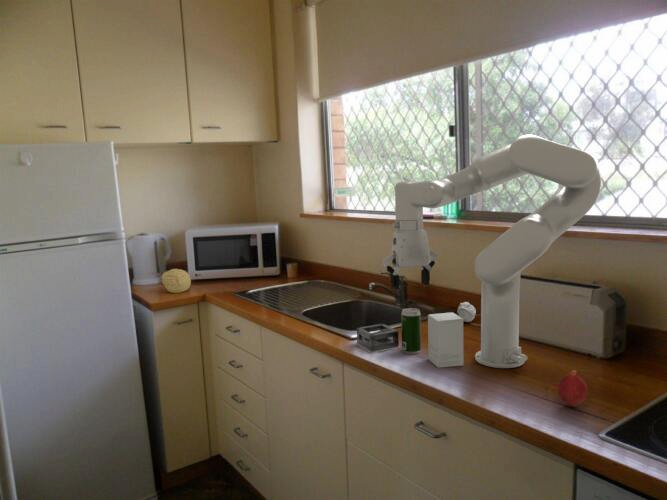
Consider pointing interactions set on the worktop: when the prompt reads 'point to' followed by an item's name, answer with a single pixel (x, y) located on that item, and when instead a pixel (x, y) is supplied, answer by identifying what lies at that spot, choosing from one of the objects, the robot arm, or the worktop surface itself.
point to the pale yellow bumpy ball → (176, 280)
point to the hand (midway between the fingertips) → (410, 286)
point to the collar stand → (377, 338)
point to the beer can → (411, 330)
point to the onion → (572, 389)
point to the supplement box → (445, 340)
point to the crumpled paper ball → (466, 311)
